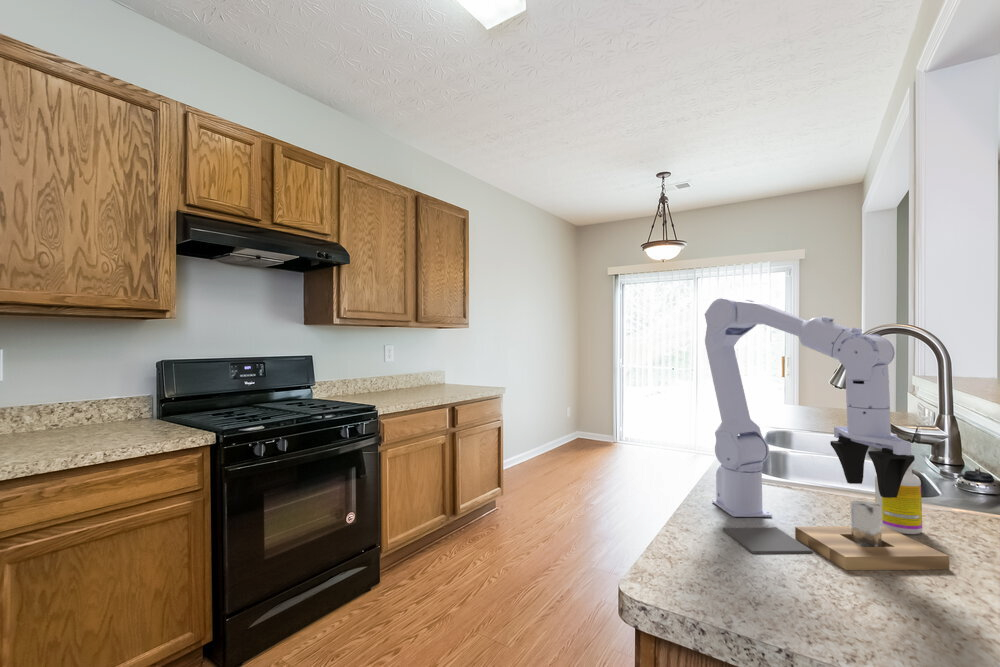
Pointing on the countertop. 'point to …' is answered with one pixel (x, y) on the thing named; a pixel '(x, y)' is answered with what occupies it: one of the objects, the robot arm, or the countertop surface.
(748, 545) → the mat
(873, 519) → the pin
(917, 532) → the supplement bottle
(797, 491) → the countertop surface
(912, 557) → the holder
